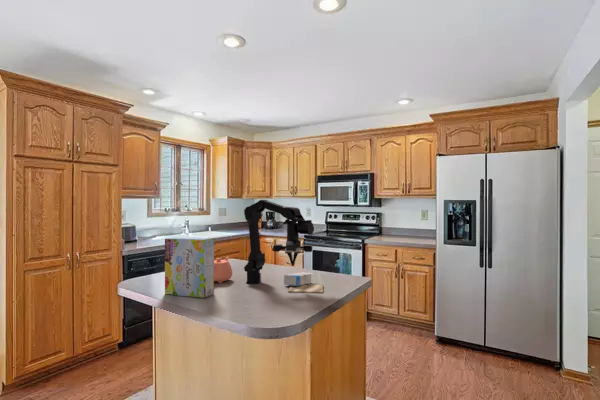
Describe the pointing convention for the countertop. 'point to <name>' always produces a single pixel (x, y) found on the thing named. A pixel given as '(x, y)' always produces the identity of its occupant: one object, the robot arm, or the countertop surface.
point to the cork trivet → (306, 288)
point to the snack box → (189, 266)
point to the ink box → (297, 279)
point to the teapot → (222, 270)
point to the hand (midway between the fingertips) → (292, 265)
